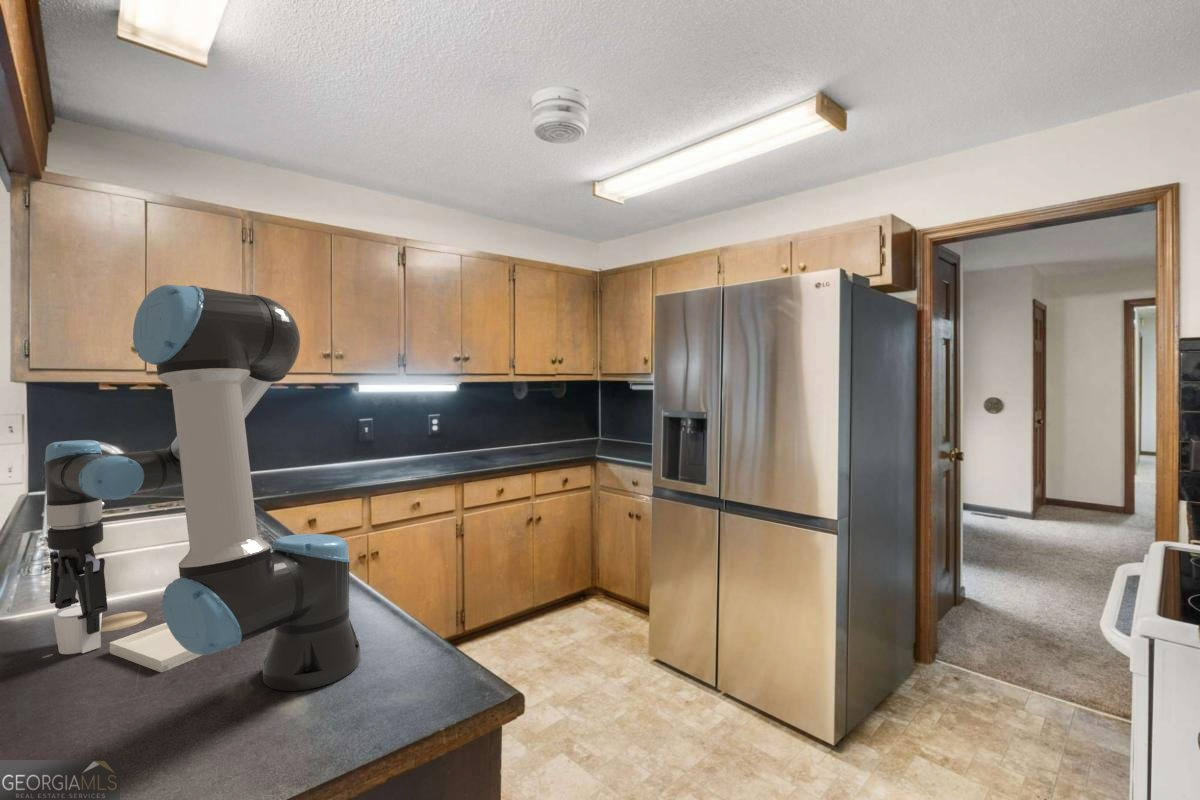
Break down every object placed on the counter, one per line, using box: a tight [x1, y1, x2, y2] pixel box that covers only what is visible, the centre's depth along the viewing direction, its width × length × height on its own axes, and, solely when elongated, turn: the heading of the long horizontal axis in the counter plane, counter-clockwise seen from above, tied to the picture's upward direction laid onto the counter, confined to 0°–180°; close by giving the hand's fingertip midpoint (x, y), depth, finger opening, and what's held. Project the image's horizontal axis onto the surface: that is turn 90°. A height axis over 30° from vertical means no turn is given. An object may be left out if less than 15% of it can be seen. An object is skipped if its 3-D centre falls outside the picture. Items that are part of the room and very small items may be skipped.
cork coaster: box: [100, 611, 148, 633], centre depth 115 cm, size 9×9×1 cm
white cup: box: [52, 604, 103, 655], centre depth 105 cm, size 7×7×7 cm
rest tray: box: [109, 622, 203, 674], centre depth 105 cm, size 16×12×2 cm
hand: (79, 645), depth 105 cm, fingers open, 7 cm apart
